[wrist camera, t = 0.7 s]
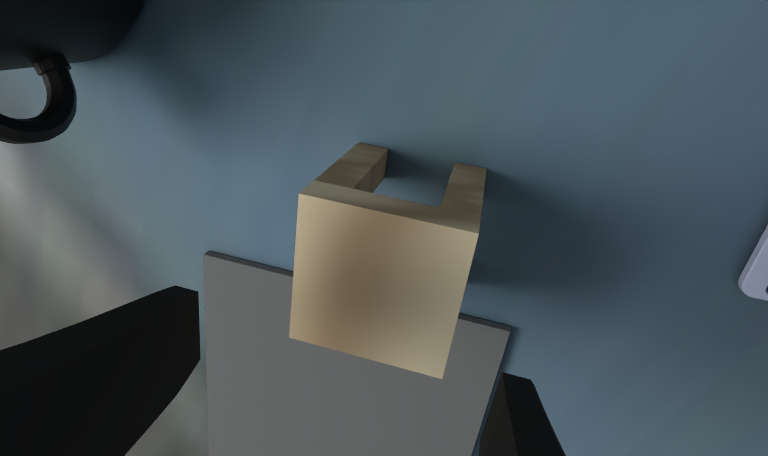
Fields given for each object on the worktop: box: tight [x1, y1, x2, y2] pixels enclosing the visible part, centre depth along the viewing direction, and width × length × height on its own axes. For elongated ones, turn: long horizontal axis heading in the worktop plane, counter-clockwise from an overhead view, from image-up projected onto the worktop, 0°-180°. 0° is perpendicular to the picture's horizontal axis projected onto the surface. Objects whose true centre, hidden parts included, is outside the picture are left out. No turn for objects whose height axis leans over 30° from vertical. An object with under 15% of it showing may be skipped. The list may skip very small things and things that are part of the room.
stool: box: [289, 143, 487, 379], centre depth 17 cm, size 5×5×6 cm
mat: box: [204, 251, 510, 456], centre depth 24 cm, size 14×14×1 cm
